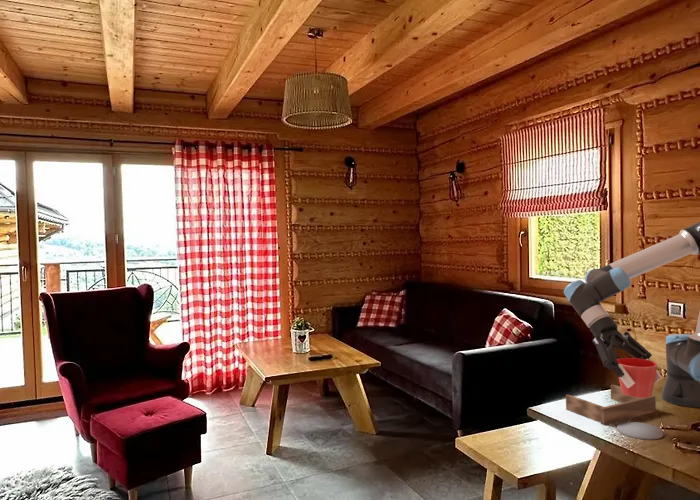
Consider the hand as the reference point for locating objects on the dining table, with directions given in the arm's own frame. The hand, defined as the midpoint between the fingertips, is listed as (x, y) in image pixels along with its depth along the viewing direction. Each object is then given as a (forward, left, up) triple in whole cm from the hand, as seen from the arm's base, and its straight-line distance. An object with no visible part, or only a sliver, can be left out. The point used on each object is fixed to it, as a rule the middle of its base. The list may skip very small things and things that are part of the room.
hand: (645, 382), depth 148 cm
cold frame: (+3, -20, -16) cm, 26 cm away
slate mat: (+1, -2, -16) cm, 16 cm away
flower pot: (+1, -3, -4) cm, 5 cm away
